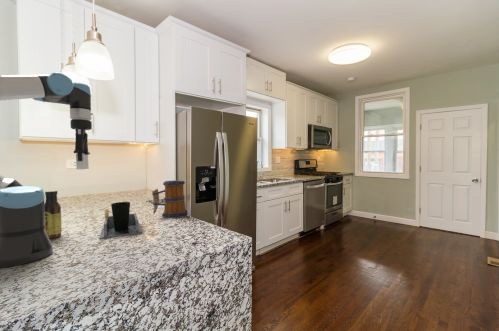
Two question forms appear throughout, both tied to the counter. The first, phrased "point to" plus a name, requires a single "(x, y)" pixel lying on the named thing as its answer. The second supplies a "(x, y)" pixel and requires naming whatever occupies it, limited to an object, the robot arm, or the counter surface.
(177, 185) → the mug
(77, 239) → the counter surface
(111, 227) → the tray
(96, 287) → the counter surface
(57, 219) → the sauce bottle
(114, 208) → the cup
